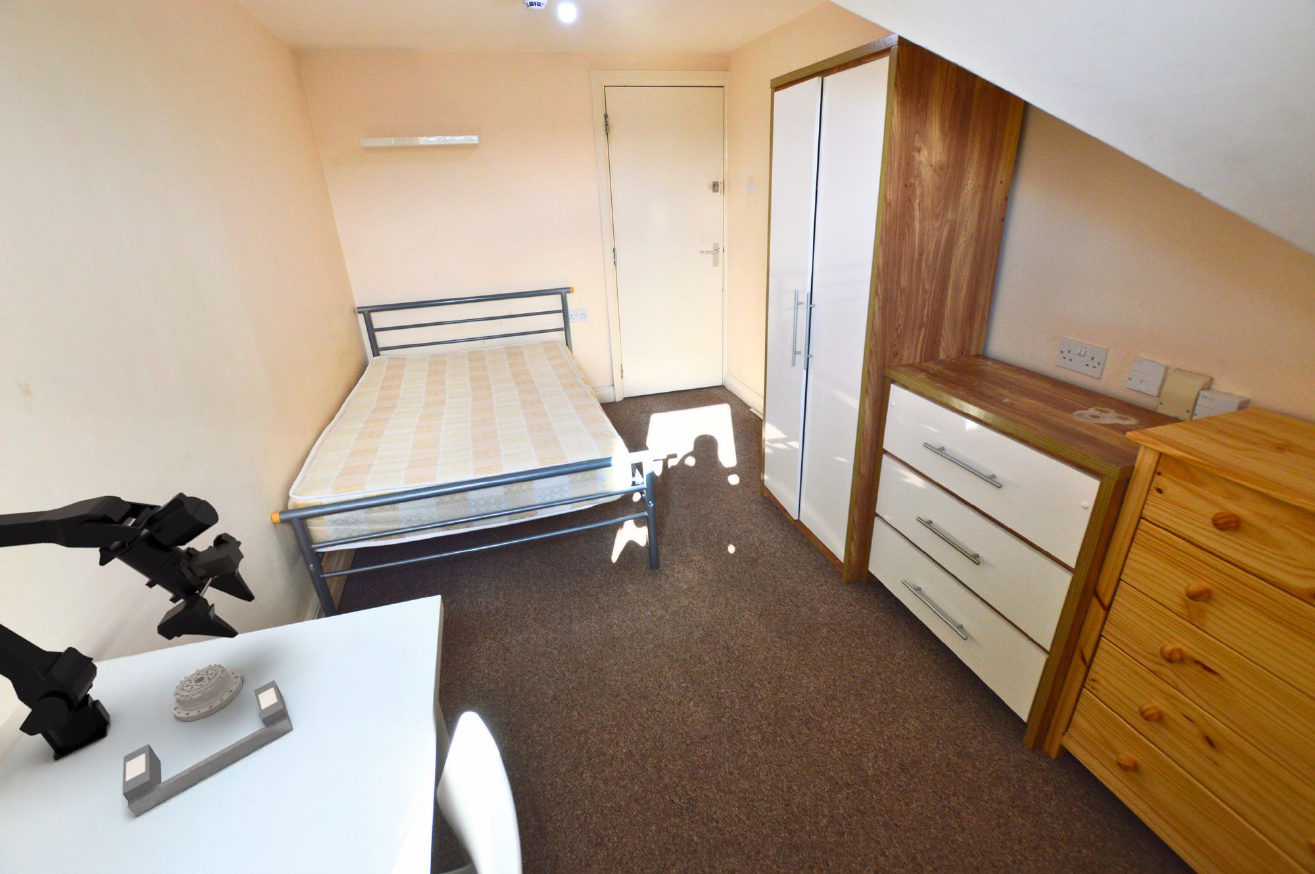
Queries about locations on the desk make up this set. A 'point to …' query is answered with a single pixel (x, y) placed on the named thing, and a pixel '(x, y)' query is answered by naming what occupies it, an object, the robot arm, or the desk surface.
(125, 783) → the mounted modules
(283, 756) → the desk surface
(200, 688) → the mechanical component
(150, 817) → the desk surface
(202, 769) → the metal rail
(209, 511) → the robot arm
